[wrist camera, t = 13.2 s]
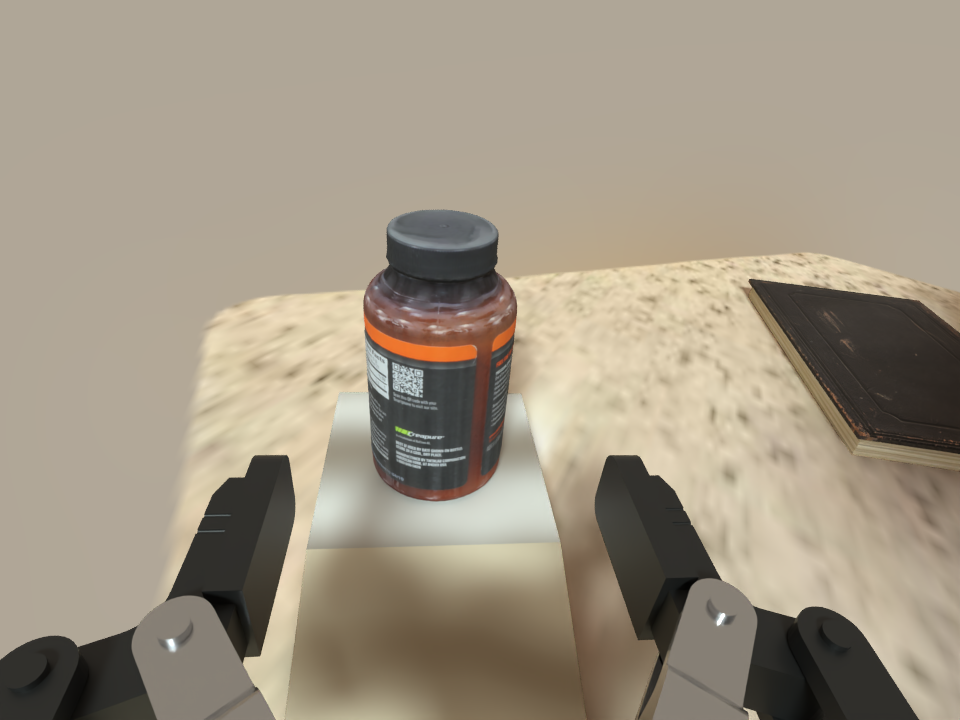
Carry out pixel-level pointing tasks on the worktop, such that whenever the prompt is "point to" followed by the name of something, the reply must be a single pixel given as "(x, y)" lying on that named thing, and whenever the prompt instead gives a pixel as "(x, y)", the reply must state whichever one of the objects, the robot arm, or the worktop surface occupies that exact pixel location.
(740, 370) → the worktop surface
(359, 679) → the ramp bench
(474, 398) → the supplement bottle
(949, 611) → the worktop surface
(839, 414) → the hardcover book
